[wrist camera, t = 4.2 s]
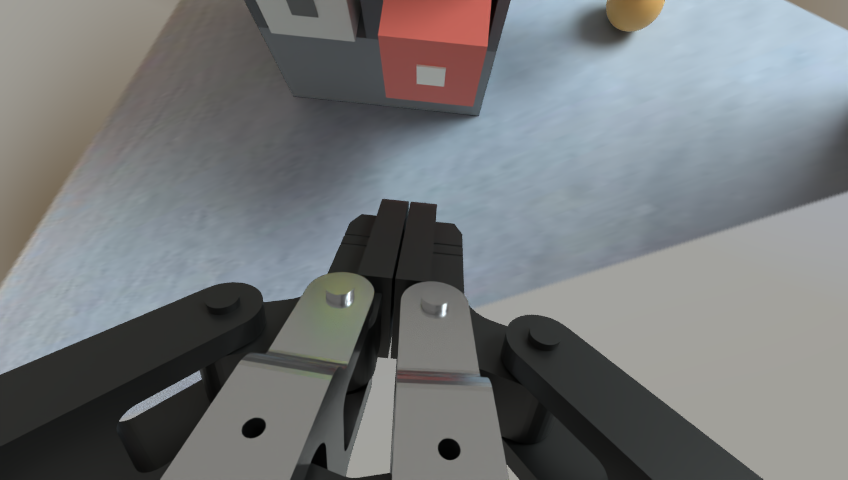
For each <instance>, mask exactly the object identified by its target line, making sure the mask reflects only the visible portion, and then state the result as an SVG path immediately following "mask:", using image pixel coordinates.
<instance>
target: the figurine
mask: <svg viewBox="0 0 848 480" xmlns="http://www.w3.org/2000/svg"><path fill="white" fill-rule="evenodd" d="M664 2H665V0H607V4H606V12H607V16H608V19H609V21H610V22H611V24H612V25H613V26H614V27H616V28H617V29H619V30H622V31H627V32H632V31H637V30H640V29H643V28H645V27H646V26H648V25H649V24H651V23H652V22H653V21H654V20H655V19H656V18H657V16H658V15H659V14H660V12H661V10H662V8H663V6H664Z"/></svg>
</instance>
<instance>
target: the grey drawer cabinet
mask: <svg viewBox="0 0 848 480" xmlns="http://www.w3.org/2000/svg"><path fill="white" fill-rule="evenodd" d="M244 1H245V3H246V5H247V6H248V8H249V10H250V12H251V14H252V16H253V18H254V20H255V22H256V24H257V26H258V28H259V30H260V32H261V34H262V36H263V38H264V40H265V42H266V44H267V45H268V47H269V49H270V51H271V53H272V55H273V57H274V59H275V61H276V63H277V65H278V67H279V69H280V71H281V73H282V75H283V77H284V79H285V81H286V83H287V84H288V86H289V88H290V90H291V92H292V94H293V96H298V97H307V98H317V99H326V100H335V101H345V102H354V103H364V104H373V105H383V106H392V107H401V108H411V109H420V110H430V111H439V112H449V113H458V114H467V115H477V116H479V113H480V109H481V106H482V102H483V98H484V95H485V91H486V88H487V84H488V80H489V77H490V73H491V69H492V66H493V62H494V59H495V55H496V51H497V48H498V44H499V40H500V37H501V33H502V30H503V26H504V22H505V19H506V15H507V11H508V8H509V4H510V1H511V0H491V11H490V23H489V35H488V47H487V51H486V55H485V59H484V63H483V68H482V72H481V76H480V80H479V84H478V88H477V92H476V97H475V101H474V105H473V107H471V106H462V105H452V104H443V103H433V102H424V101H414V100H405V99H395V98H386V93H385V85H384V78H383V70H382V62H381V55H380V47H379V39H378V32H379V26H380V19H381V13H382V6H383V0H360V2H361V10H360V16H359V22H358V28H357V34H356V40H355V42H352V41H342V40H333V39H323V38H313V37H304V36H294V35H285V34H275V33H271V31H270V29H269V27H268V25H267V23H266V21H265V19H264V17H263V14H262V12H261V10H260V8H259V6H258V4H257V2H256V0H244Z"/></svg>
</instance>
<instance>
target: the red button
mask: <svg viewBox="0 0 848 480" xmlns="http://www.w3.org/2000/svg"><path fill="white" fill-rule="evenodd" d="M490 11H491V0H383V6H382V13H381V19H380V26H379V32H378V39H379V47H380V55H381V62H382V70H383V78H384V85H385V93H386V98H395V99H405V100H414V101H424V102H433V103H443V104H452V105H462V106H471V107H473V105H474V101H475V97H476V92H477V88H478V84H479V80H480V76H481V72H482V68H483V63H484V59H485V55H486V51H487V47H488V35H489V23H490Z"/></svg>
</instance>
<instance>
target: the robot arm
mask: <svg viewBox="0 0 848 480" xmlns="http://www.w3.org/2000/svg"><path fill="white" fill-rule="evenodd" d="M436 209H437V204H428V203H418V202H411V203H410V208H409V202H408V201H398V200H389V199H382V202H381V205H380V208H379V210H378V213H377V216H373V215H364V214H361V215H360V216H359V217H357V218H356V219H355V220H353V221H352V222H350V224H349V226H348V228H347V231H346V233H345V236H344V237H343V240H342V242H341V245H340V247H339V249H338V251H337V253H336V256H335V258H334V260H333V263H332V265H331V267H330V269H329V272H328V274H326V275H323V276H321V277H318V278H317V279H315V280H314V281H312V282H311V283H310V284H309V286H308V287H307V288H306V290H305V292H304V293H303V295H302V296H301V297H298V298H294V299H288V300H280V301H271V302H263V297H262V294H261V292H260V291H259V290H258V289H257V288H255V287H253V286H251V285H248V284H245V283H234V282H232V283H223V284H218V285H214V286H211V287H208V288H206V289H203V290H201V291H199V292H196V293H194V294H192V295H189V296H187V297H184V298H182V299H180V300H177V301H175V302H173V303H170V304H168V305H165V306H163V307H161V308H158V309H156V310H153V311H151V312H149V313H146V314H144V315H142V316H139V317H137V318H134V319H132V320H130V321H127V322H125V323H123V324H120V325H118V326H115V327H113V328H111V329H108V330H106V331H104V332H101V333H99V334H96V335H94V336H92V337H89V338H87V339H84V340H82V341H80V342H77V343H75V344H73V345H70V346H68V347H65V348H63V349H61V350H58V351H56V352H54V353H51V354H49V355H46V356H44V357H42V358H39V359H37V360H34V361H32V362H30V363H27V364H25V365H23V366H20V367H18V368H15V369H13V370H11V371H8V372H6V373H4V374H1V375H0V480H509V476H508V472H507V466H506V464H507V465H508V466H509V468H510V469H511V470H512V471H513V472H514V474H515V475H516V476H517V477H518V478H519V480H763V479H762V478H761V477H759V476H758V475H757V474H755V473H754V472H753V471H752V470H750V469H749V468H748V467H747V466H745V465H744V464H743V463H741V462H740V461H739V460H737V459H736V458H735V457H734V456H732V455H731V454H730V453H728V452H727V451H726V450H725V449H723V448H722V447H721V446H719V445H718V444H717V443H715V442H714V441H713V440H712V439H710V438H709V437H708V436H706V435H705V434H704V433H703V432H701V431H700V430H699V429H698V428H696V427H695V426H694V425H692V424H691V423H690V422H688V421H687V420H686V419H684V418H683V417H682V416H681V415H679V414H678V413H677V412H676V411H674V410H673V409H671V408H670V407H669V406H668V405H667V404H665V403H664V402H663V401H661V400H660V399H658V397H656V396H655V395H654V394H652V393H651V392H650V391H648V390H647V389H646V388H645V387H643V386H642V385H641V384H639V383H638V382H637V381H635V380H634V379H633V378H632V377H630V376H629V375H628V374H626V373H625V372H624V371H623V370H621V369H620V368H619V367H617V366H616V365H615V364H614V363H612V362H611V361H610V360H608V359H607V358H606V357H605V356H603V355H602V354H601V353H599V352H598V351H597V350H595V349H594V348H593V347H592V346H590V345H589V344H588V343H587V342H585V341H584V340H583V339H581V338H580V337H579V336H578V335H576V334H575V333H574V332H572V331H571V330H570V329H568V328H567V327H566V326H564V325H563V324H561V323H559V322H558V321H556V320H553V319H551V318H548V317H544V316H539V315H525V316H520V317H518V318H516V319H514V320H512V322H510V324H509V325H508V326H505V325H502V324H499V323H496V322H493V321H491V320H488V319H486V318H484V317H482V316H481V315H479V314H478V313H476V312H475V311H474V310H473V309H472V308H471V307H470V306H469V304H468V300H467V298H466V297H465V295H464V279H463V248H462V234H461V232H460V231H459V230H458V228H457V227H456V226H455V224H451V223H441V222H436ZM391 337H392V346H391V358H393V359H397V364H396V377H395V391H394V410H393V426H392V445H391V463H390V473H387V474H381V475H374V476H368V477H361V478H348V477H346V473H347V468H348V464H349V460H350V456H351V453H352V449H353V446H354V443H355V439H356V436H357V433H358V430H359V426H360V423H361V420H362V416H363V413H364V409H365V406H366V402H367V399H368V396H369V393H370V389H371V385H372V376H373V374H374V371H375V367H376V362H377V357H382V358H388V354H389V348H390V343H391ZM199 370H200V374H201V377H202V380H200V381H198V382H197V383H195V384H193V385H191V386H189V387H188V388H186V389H184V390H182V391H181V392H179V393H177V394H175V395H173V396H172V397H170V398H168V399H166V400H164V401H163V402H161V403H159V404H157V405H156V406H154V407H152V408H150V409H148V410H147V411H145V412H143V413H141V414H140V415H138V416H136V417H134V418H132V419H130V420H127V421H122V422H119V420H120V419H121V417H122V416H123V415H124V414H125V413H126V412H127V411H128V410H129V409H130V408H132V407H133V406H135V405H136V404H138V403H140V402H142V401H144V400H145V399H147V398H149V397H151V396H153V395H155V394H156V393H158V392H160V391H162V390H164V389H166V388H167V387H169V386H171V385H173V384H175V383H177V382H179V381H180V380H182V379H184V378H186V377H188V376H190V375H191V374H193V373H195V372H197V371H199Z"/></svg>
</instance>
